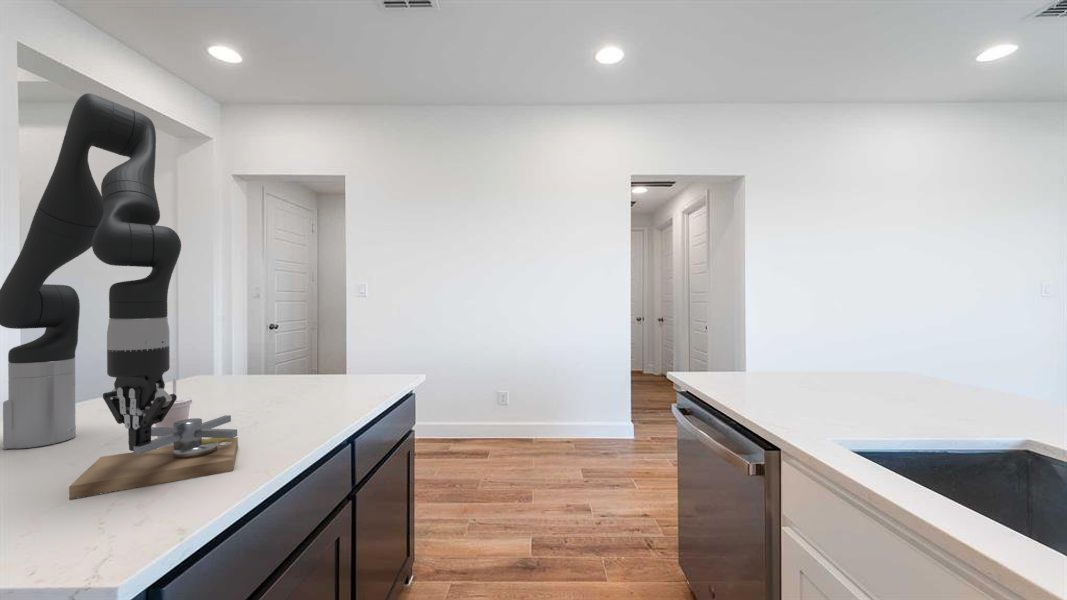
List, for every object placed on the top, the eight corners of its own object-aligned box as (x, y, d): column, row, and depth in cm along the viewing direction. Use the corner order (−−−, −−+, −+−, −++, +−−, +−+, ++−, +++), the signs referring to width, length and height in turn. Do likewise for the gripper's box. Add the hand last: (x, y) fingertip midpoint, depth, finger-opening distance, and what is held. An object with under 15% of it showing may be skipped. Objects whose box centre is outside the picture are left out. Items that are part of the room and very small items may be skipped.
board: (69, 499, 63) (69, 485, 63) (100, 468, 75) (100, 455, 75) (232, 470, 74) (232, 458, 74) (237, 446, 86) (237, 436, 86)
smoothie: (173, 454, 82) (173, 382, 82) (141, 454, 82) (141, 382, 82) (200, 443, 88) (200, 376, 88) (170, 442, 88) (170, 376, 88)
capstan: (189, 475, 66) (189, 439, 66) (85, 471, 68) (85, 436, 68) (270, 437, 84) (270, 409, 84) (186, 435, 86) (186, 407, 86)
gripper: (194, 344, 72) (194, 445, 72) (134, 341, 74) (134, 438, 75) (145, 350, 64) (145, 462, 65) (80, 346, 67) (81, 454, 67)
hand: (139, 449), depth 70 cm, fingers closed
